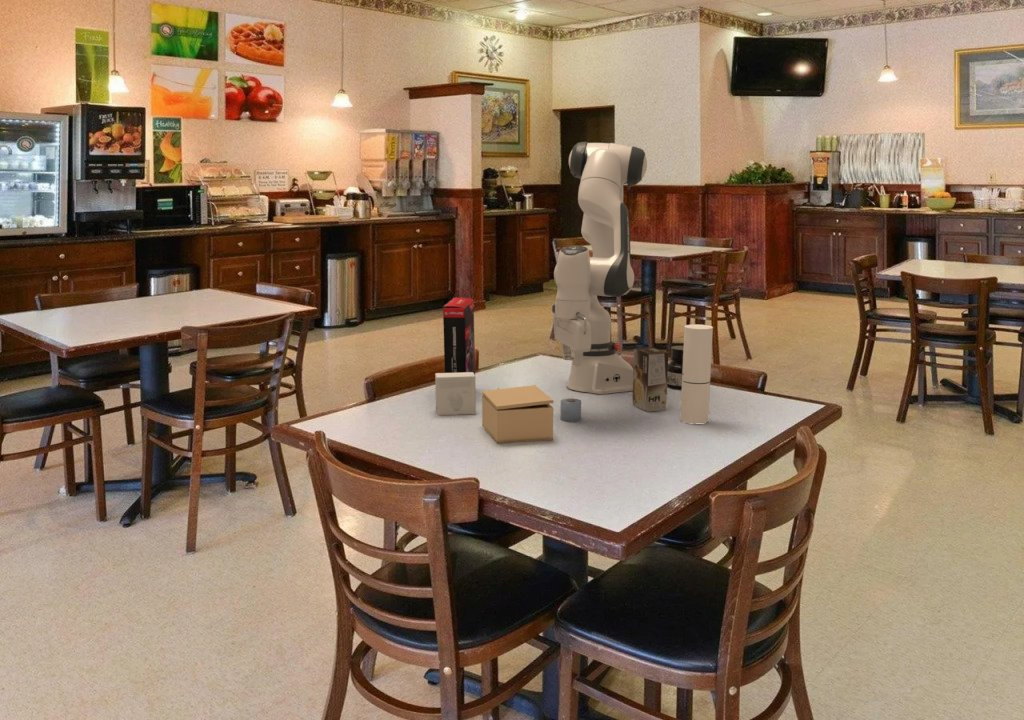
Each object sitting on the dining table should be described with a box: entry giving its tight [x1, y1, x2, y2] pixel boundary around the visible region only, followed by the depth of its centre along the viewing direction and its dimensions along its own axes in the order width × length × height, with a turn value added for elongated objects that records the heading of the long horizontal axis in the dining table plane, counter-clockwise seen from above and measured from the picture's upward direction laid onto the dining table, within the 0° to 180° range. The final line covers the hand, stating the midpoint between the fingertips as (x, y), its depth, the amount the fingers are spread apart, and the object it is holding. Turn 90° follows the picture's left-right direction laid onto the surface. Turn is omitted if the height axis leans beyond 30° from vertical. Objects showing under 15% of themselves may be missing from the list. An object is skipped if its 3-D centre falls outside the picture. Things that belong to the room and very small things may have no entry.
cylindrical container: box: [679, 323, 714, 425], centre depth 242 cm, size 7×7×25 cm
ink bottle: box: [667, 345, 684, 390], centre depth 282 cm, size 10×9×12 cm
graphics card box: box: [442, 297, 476, 376], centre depth 269 cm, size 17×7×27 cm, turn 174°
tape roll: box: [559, 397, 582, 423], centre depth 245 cm, size 5×5×5 cm
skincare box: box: [434, 372, 477, 416], centre depth 251 cm, size 10×6×10 cm, turn 98°
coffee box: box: [631, 346, 669, 413], centre depth 257 cm, size 9×6×16 cm
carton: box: [481, 394, 554, 444], centre depth 232 cm, size 14×16×8 cm
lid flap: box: [481, 384, 554, 410], centre depth 231 cm, size 14×16×1 cm
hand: (571, 362), depth 243 cm, fingers open, 7 cm apart
